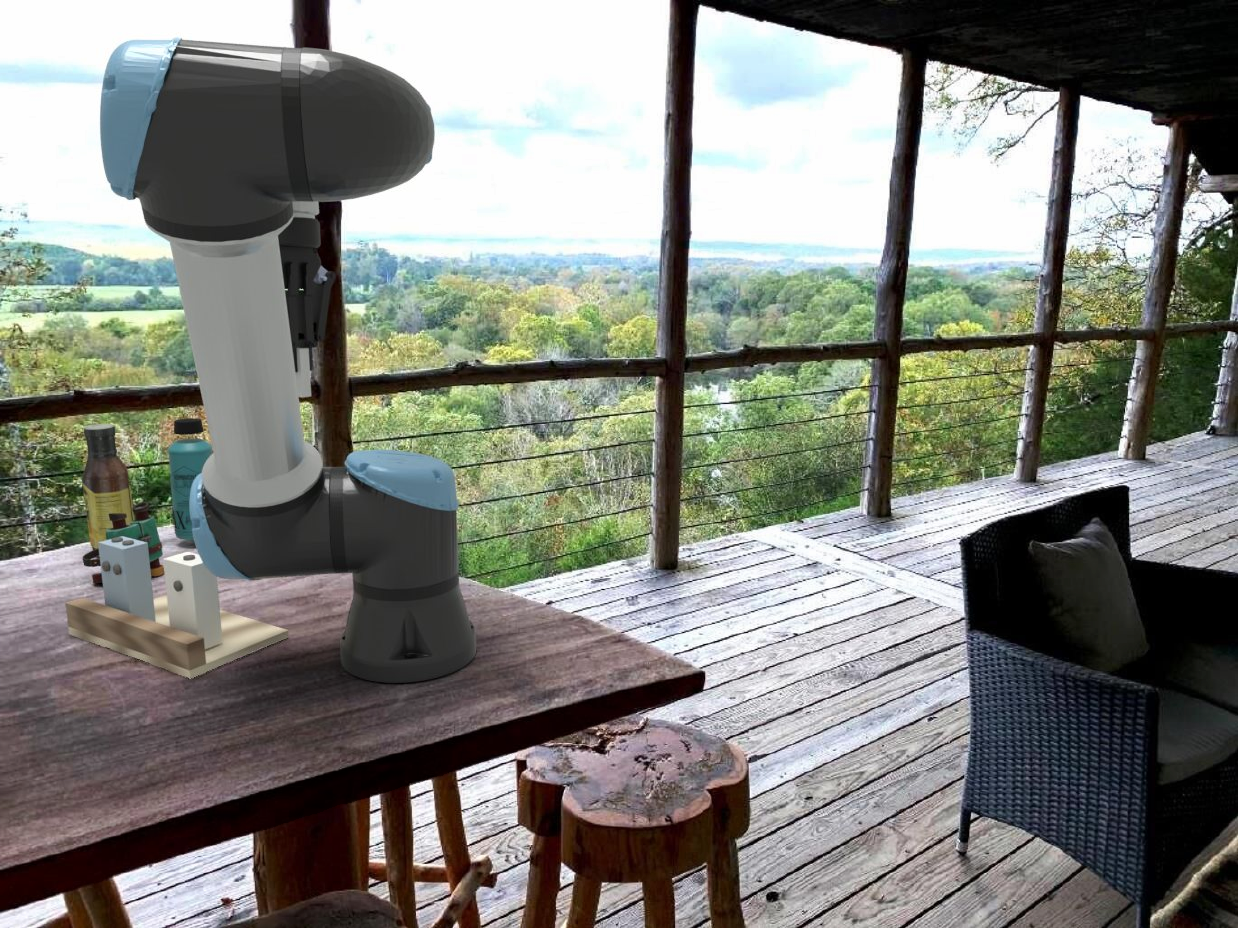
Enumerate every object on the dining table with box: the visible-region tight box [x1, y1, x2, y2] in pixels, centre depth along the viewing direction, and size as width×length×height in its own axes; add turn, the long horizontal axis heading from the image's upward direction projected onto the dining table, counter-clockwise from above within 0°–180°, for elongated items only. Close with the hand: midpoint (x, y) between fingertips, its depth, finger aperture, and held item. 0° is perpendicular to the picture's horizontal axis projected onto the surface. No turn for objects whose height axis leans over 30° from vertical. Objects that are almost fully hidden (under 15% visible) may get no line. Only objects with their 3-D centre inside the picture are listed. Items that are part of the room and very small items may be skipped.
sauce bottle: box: [81, 423, 136, 558], centre depth 137 cm, size 7×6×20 cm
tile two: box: [98, 536, 156, 622], centre depth 108 cm, size 5×3×10 cm, turn 60°
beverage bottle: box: [167, 417, 213, 541], centre depth 143 cm, size 6×7×20 cm
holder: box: [65, 594, 290, 680], centre depth 108 cm, size 23×13×4 cm, turn 60°
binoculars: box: [82, 501, 165, 584], centre depth 127 cm, size 9×11×10 cm
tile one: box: [162, 551, 223, 649], centre depth 103 cm, size 5×3×10 cm, turn 60°
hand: (300, 396), depth 124 cm, fingers closed
